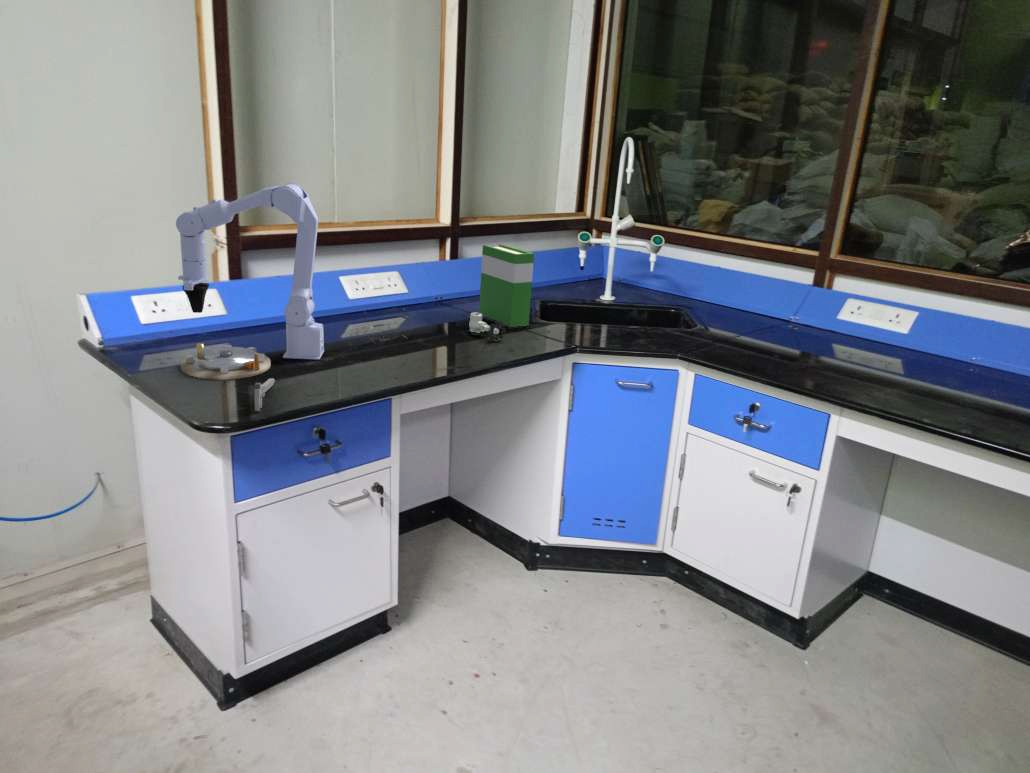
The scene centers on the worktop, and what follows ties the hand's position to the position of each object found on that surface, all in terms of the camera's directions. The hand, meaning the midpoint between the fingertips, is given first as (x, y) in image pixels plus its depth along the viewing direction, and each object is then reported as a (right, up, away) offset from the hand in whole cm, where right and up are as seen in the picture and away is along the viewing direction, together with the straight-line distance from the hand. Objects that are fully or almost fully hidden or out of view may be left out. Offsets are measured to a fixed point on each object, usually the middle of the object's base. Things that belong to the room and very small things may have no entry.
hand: (197, 312), depth 197 cm
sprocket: (+10, -13, -7) cm, 18 cm away
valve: (+73, -5, +35) cm, 81 cm away
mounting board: (+10, -14, -7) cm, 19 cm away
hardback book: (+78, +2, +55) cm, 95 cm away
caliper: (+26, -22, -24) cm, 41 cm away
